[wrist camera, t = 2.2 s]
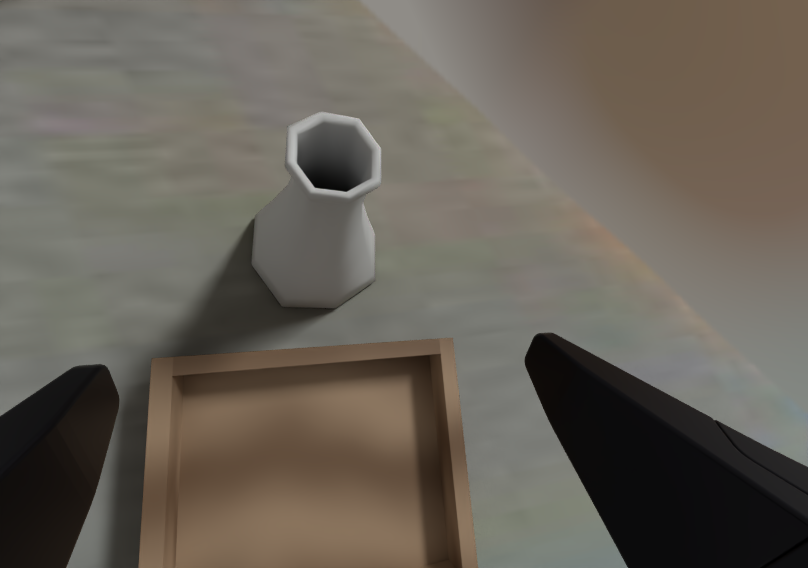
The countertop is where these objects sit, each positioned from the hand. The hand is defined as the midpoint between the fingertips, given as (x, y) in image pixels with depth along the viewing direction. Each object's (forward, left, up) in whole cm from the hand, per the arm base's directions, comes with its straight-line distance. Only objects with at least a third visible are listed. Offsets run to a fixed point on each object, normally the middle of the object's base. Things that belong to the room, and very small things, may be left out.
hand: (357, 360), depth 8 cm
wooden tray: (-4, -3, -12) cm, 14 cm away
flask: (+5, +4, -13) cm, 14 cm away
